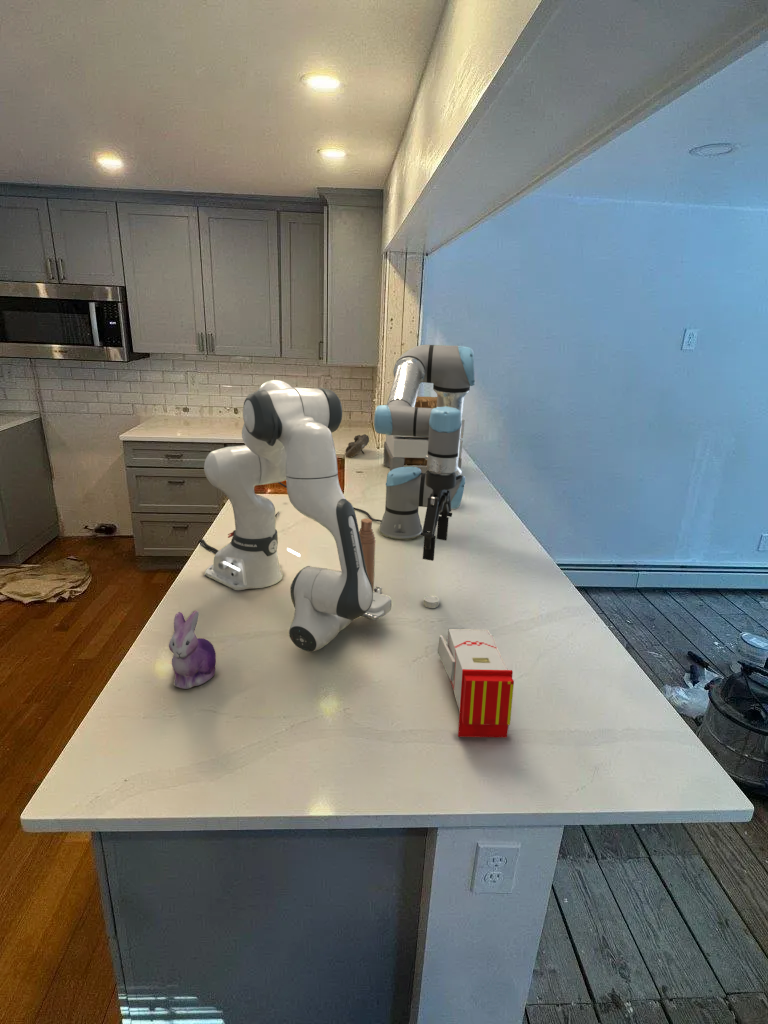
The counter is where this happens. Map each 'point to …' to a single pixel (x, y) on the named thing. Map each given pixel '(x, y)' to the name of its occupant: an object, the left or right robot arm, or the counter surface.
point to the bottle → (368, 547)
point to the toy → (478, 682)
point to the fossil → (357, 445)
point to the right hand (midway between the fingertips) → (435, 549)
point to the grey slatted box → (412, 444)
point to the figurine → (191, 653)
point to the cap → (431, 601)
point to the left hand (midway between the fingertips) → (365, 585)
